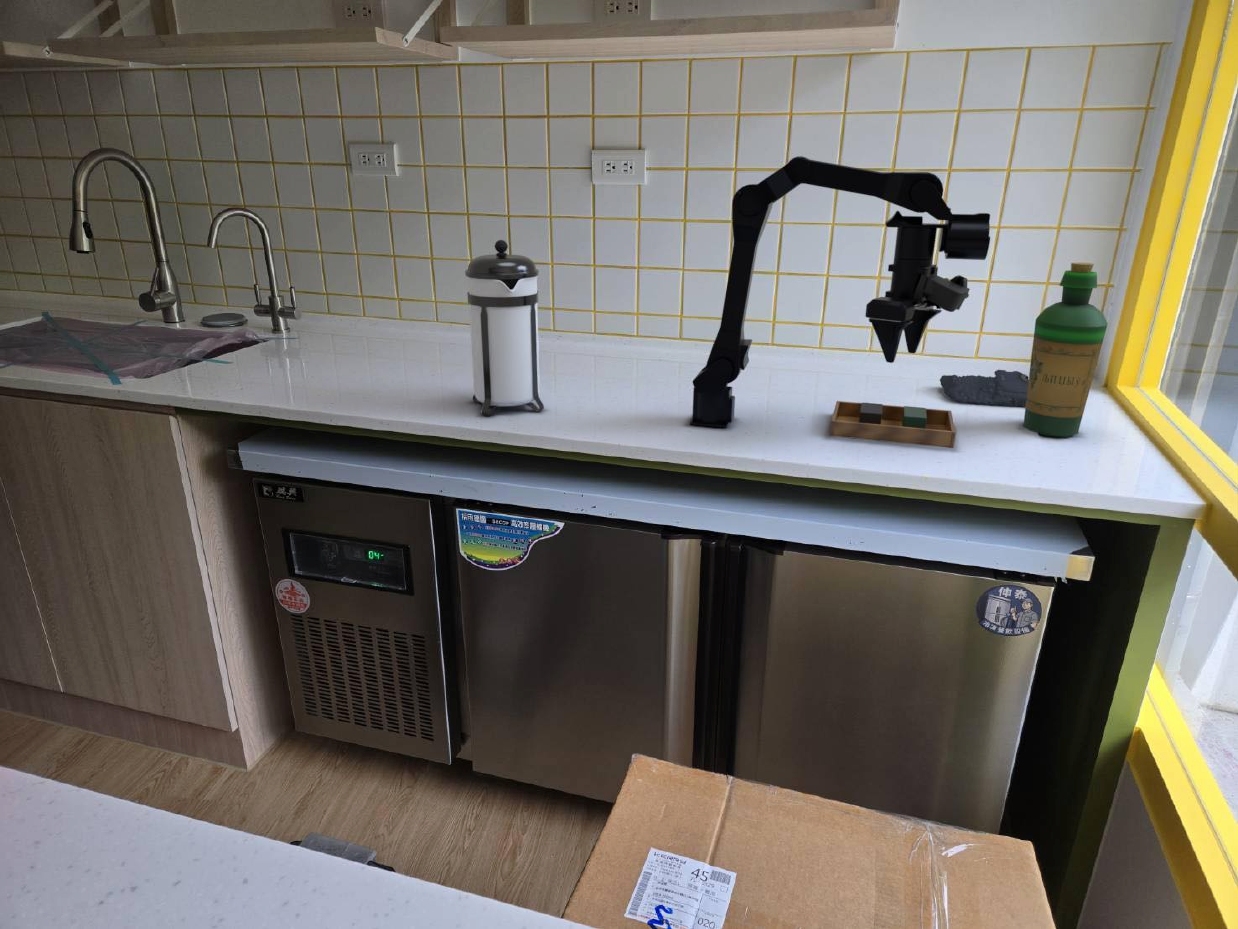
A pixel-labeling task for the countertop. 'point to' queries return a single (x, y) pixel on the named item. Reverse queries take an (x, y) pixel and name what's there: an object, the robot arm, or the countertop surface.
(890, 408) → the wooden tray
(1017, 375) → the dark slate chunk
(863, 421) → the dark grey block
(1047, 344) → the bottle
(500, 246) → the coffee press
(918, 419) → the green block
